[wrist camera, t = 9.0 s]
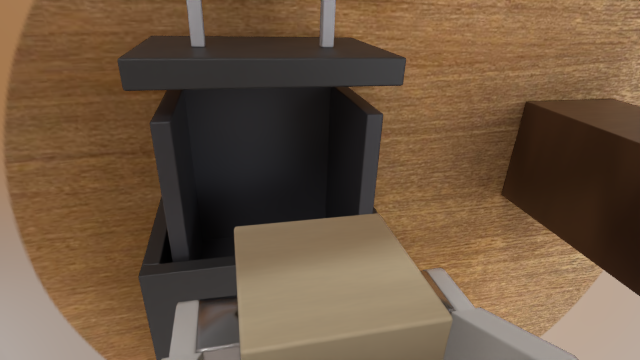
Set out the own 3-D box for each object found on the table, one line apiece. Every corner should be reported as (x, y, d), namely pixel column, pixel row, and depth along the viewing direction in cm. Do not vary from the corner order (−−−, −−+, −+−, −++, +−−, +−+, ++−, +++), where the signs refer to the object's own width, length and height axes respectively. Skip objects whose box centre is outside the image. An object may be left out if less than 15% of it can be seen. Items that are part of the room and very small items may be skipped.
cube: (233, 225, 10) (240, 353, 6) (379, 211, 11) (455, 317, 7) (242, 337, 12) (251, 486, 8) (367, 318, 13) (424, 445, 9)
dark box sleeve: (165, 182, 26) (138, 276, 17) (348, 169, 28) (401, 246, 20) (190, 340, 32) (179, 466, 24) (337, 318, 35) (375, 423, 26)
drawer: (136, -56, 19) (90, -80, 12) (357, -43, 21) (421, -58, 15) (181, 242, 27) (168, 329, 20) (340, 226, 29) (376, 299, 22)
